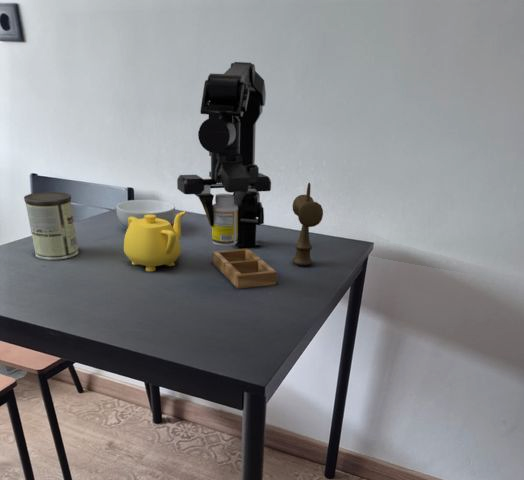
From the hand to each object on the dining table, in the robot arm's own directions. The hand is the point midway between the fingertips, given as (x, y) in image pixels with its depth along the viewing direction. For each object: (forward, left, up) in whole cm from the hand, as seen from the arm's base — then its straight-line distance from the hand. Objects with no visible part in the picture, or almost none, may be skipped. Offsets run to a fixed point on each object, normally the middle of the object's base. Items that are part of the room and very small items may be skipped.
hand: (224, 225), depth 104 cm
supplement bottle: (0, 0, -4) cm, 4 cm away
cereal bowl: (-46, -8, -13) cm, 49 cm away
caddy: (-4, +6, -13) cm, 15 cm away
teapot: (-17, -11, -13) cm, 24 cm away
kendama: (-6, +23, -13) cm, 28 cm away
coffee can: (-30, -34, -13) cm, 47 cm away
